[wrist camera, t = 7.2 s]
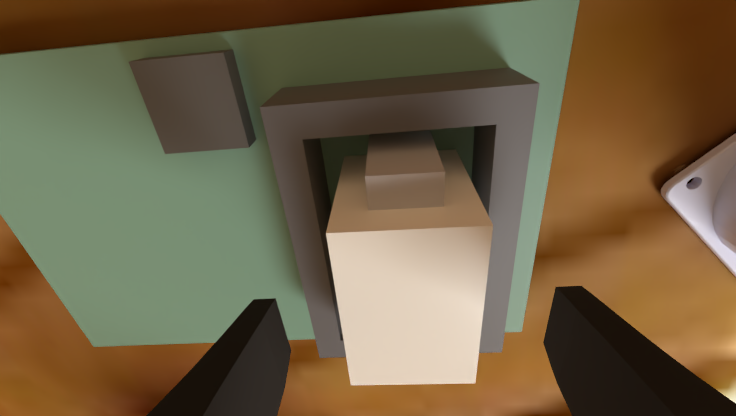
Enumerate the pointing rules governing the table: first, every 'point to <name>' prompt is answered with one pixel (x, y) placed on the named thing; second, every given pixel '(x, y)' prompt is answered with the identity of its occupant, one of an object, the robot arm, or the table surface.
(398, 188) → the plug
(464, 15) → the board
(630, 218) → the table surface
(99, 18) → the table surface
